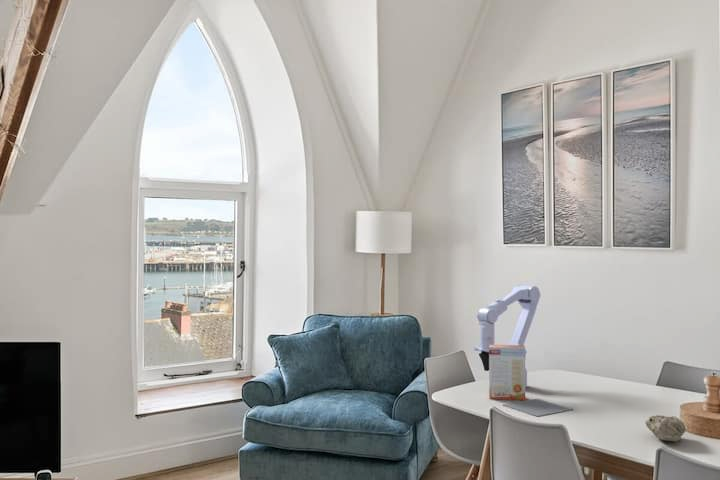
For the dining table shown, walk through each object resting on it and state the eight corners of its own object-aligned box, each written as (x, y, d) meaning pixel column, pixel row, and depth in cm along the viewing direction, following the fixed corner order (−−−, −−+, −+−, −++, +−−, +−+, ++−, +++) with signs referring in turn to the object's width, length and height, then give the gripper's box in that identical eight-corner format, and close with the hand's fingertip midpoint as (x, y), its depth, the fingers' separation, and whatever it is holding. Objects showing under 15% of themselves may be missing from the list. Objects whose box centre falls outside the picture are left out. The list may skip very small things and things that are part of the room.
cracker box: (524, 397, 268) (525, 344, 267) (525, 401, 262) (525, 347, 262) (489, 395, 271) (489, 343, 270) (488, 399, 265) (489, 346, 264)
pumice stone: (688, 450, 204) (688, 423, 203) (646, 445, 208) (646, 419, 208) (684, 436, 216) (684, 412, 216) (644, 432, 221) (644, 408, 221)
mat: (537, 399, 264) (537, 398, 264) (573, 409, 249) (573, 409, 249) (502, 405, 255) (502, 404, 255) (537, 416, 240) (537, 415, 240)
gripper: (468, 335, 280) (468, 368, 280) (491, 340, 268) (491, 374, 268) (481, 334, 284) (481, 366, 284) (505, 339, 271) (505, 372, 271)
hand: (487, 370), depth 276 cm, fingers closed
